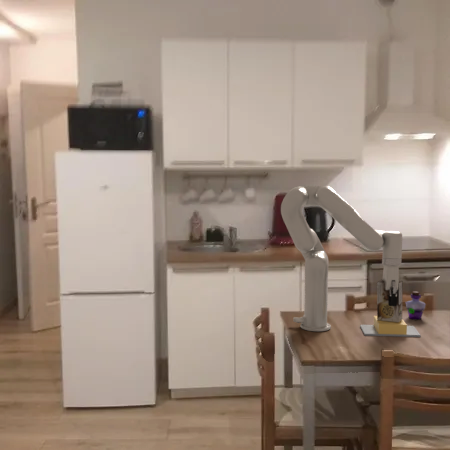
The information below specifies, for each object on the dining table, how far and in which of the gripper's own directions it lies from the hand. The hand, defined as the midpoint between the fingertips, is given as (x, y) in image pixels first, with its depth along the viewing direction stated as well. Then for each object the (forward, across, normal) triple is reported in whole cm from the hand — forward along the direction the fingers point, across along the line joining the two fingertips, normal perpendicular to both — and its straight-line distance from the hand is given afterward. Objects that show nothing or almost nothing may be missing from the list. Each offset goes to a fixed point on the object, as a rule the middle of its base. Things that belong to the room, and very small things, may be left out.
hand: (390, 303), depth 249 cm
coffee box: (+7, 0, 0) cm, 7 cm away
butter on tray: (+12, 0, 0) cm, 12 cm away
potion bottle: (+12, -22, +15) cm, 29 cm away
